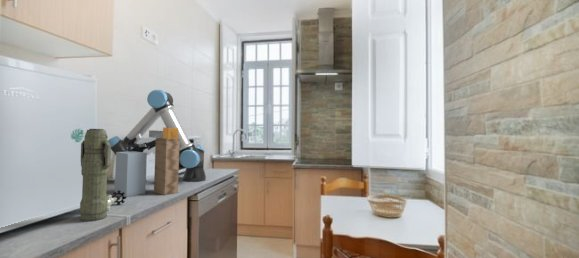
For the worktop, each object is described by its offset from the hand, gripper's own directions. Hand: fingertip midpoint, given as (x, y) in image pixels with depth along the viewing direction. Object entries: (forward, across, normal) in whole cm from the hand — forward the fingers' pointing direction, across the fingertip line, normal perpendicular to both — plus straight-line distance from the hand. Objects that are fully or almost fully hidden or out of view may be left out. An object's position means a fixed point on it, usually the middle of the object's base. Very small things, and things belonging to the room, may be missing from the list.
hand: (151, 135), depth 165 cm
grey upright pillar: (-14, +12, -28) cm, 33 cm away
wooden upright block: (-3, -1, -34) cm, 34 cm away
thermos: (+13, +42, -43) cm, 62 cm away
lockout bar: (+8, -1, -6) cm, 10 cm away
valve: (+4, +32, -39) cm, 50 cm away
